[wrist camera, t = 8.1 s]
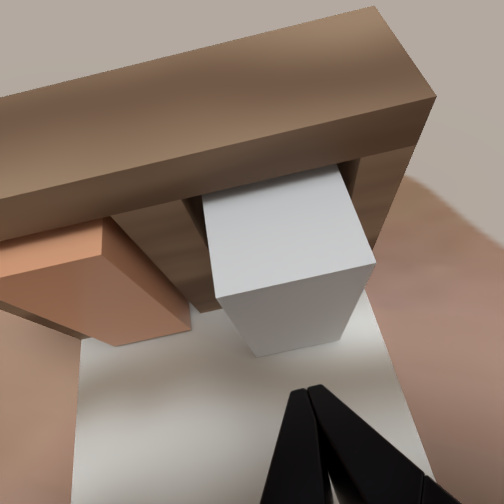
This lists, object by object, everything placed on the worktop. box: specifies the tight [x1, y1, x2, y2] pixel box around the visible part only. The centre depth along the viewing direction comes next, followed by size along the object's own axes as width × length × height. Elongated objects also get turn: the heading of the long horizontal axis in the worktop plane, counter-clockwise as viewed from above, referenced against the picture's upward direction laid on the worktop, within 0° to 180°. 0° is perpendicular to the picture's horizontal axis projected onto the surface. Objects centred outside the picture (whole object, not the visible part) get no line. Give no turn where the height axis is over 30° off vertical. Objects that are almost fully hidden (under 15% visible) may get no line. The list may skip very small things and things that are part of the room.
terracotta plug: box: [0, 216, 191, 346], centre depth 14 cm, size 6×4×8 cm, turn 10°
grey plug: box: [202, 164, 376, 357], centre depth 13 cm, size 6×4×8 cm, turn 10°
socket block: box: [0, 6, 437, 504], centre depth 11 cm, size 15×15×11 cm
